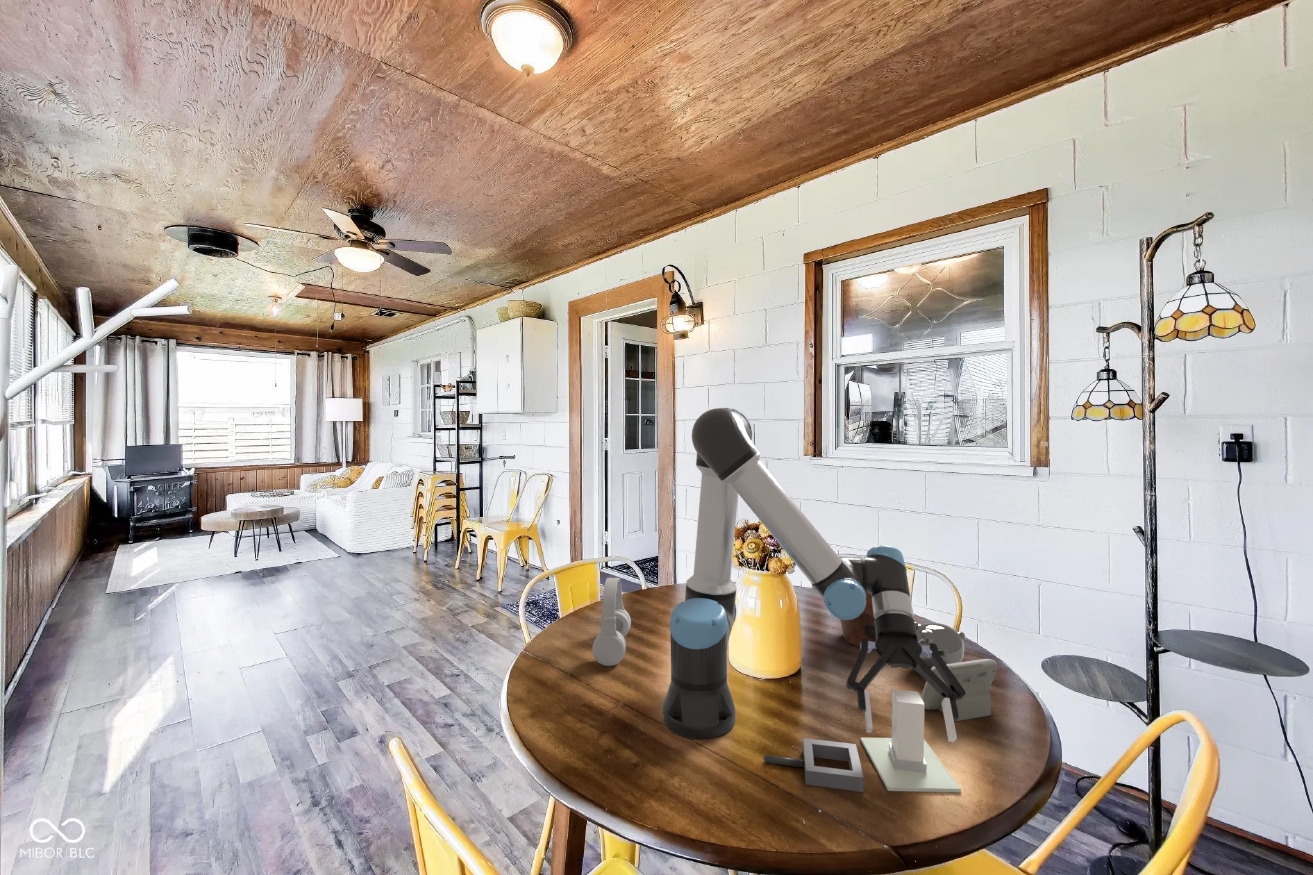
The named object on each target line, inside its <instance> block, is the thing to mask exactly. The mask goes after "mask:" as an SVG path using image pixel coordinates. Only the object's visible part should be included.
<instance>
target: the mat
mask: <svg viewBox="0 0 1313 875" xmlns="http://www.w3.org/2000/svg"><path fill="white" fill-rule="evenodd" d="M860 742H861V744H862V746H863V747H864V750H865V751H866V753H867V754H868V757H869V759H870V760H871V763H872V764H873V766H874V768H875V769H876V772H877V773H878V775H879V777H880V778H881V780H882V782H883V784H884V786H885V788H886V790H887V791H888V792H923V793H925V792H926V793H927V792H929V793H931V792H932V793H961V792H962V788H961V787H960V786H959V784H958V782H957V781H956V780H955V778H953V776H952V775H951V773H950V772H949V771H948V769H947V768H946V767H945V764H944V763H943V762H942V761H941V760H940V759H939V757H938V756H937V754H936V753H935V751H934V750H933V749H932V748H931V746H930V745H929V743H928V742H927V741H926V739H925V738H924V759H925V762H926V764H927V773H926V772H918V771H910V770H901V769H895V768H894V765H893V762H892V759H891V756H890V753H889V743H892V737H860Z"/></svg>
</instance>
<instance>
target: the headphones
mask: <svg viewBox="0 0 1313 875" xmlns="http://www.w3.org/2000/svg"><path fill="white" fill-rule="evenodd" d="M602 595H603V596H602V607H601V617H600V623H601V624H600V627H601V628H600V633H598V635H597V636H596V638H595V639H594V640H593V643H592V655H593V658H594V660H596V661H597V663H599V664H600V665H601V666H605V667H612V666H613V667H614V666H616V665H618V664H619V663H620V662H621V661H622V660H623V659H624V657H625V654H626V639H625V637H626V636H627V634H628V632H629V631H630V628H631V625H632V619H631V616H630V614H629V612H627V610H626V609H625V607H624V602H623V592H622V583H621V578H620V577H607V578H606V579H605V582H604V586H603V594H602Z"/></svg>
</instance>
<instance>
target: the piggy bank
mask: <svg viewBox="0 0 1313 875" xmlns="http://www.w3.org/2000/svg"><path fill="white" fill-rule="evenodd" d="M914 621H915V620H914ZM915 626H916V632H917V638H918V642H919V644H920V645H921V646H930V645H931V644H932V643H934V644H936V645H937V648H938V651H939V654H940V656H941V658H942V659H943V660H944V662H945V663H946V664H952V663H959V662H963V658H964V655H965V654H964V653H965V645H964V644H965V643H964V641H966V635H965V632H963V631H957V630H955V628H953V627H951V626H949V625H947V624H943V623H940V622H925V623H920V622H918V621H915ZM919 657H920V658H921V659H922V660H923V661H924V662H925V664H926V665H927V666H928V667H929V668H930V669H931V668H932V667H934V665H933V664H932V662H931V660H930V658H927V656H926V655H925V654H924V653H921V654H920V656H919Z"/></svg>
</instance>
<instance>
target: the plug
mask: <svg viewBox="0 0 1313 875" xmlns="http://www.w3.org/2000/svg"><path fill="white" fill-rule="evenodd" d="M891 692H892V693H891V694H892V695H891V696H892V698H891V701H892V702H891V738H892V743H889V753H890V756H891V759H892V762H893V765H894V768H895V769H901V770H910V771H918V772H926V773H927V764H926V762H925V759H924V739H925V709H924V702H923V700H922V698H921V694H920V692H919V691H915V690H914V691H913V690H904V689H895V688H892V691H891Z"/></svg>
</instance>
